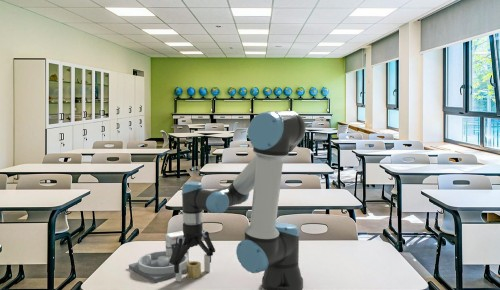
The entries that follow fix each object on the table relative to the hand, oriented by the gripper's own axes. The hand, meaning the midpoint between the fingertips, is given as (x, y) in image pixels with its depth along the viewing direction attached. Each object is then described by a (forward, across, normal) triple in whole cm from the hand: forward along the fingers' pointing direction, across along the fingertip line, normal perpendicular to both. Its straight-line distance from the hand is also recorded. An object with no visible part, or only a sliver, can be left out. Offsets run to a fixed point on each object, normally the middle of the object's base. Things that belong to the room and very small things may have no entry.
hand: (193, 275), depth 179 cm
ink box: (0, -5, -18) cm, 18 cm away
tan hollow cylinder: (0, 0, 0) cm, 0 cm away
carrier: (0, +4, -15) cm, 15 cm away
